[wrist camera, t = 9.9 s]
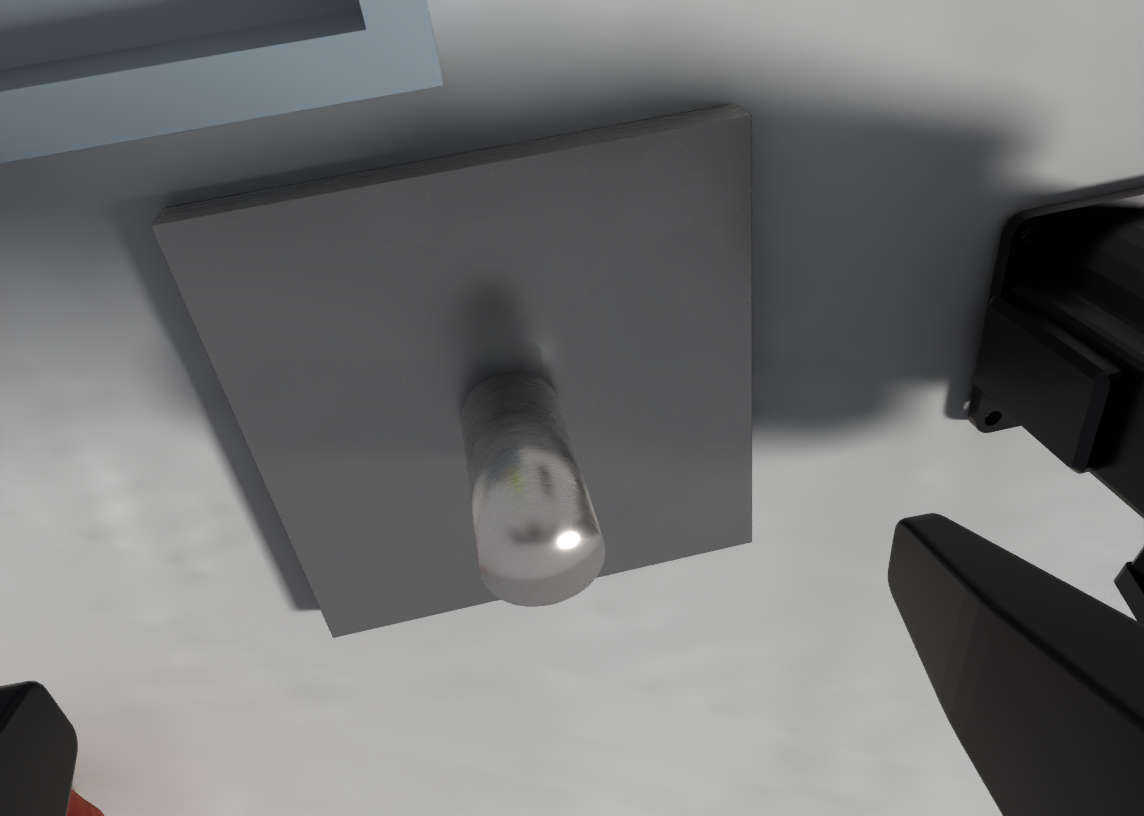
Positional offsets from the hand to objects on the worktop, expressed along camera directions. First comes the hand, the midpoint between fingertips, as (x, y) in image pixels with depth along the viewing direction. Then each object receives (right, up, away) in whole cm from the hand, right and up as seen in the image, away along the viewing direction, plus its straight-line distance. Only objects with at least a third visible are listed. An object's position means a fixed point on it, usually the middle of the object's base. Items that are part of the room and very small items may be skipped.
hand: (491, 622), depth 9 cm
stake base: (-1, +3, +12) cm, 12 cm away
